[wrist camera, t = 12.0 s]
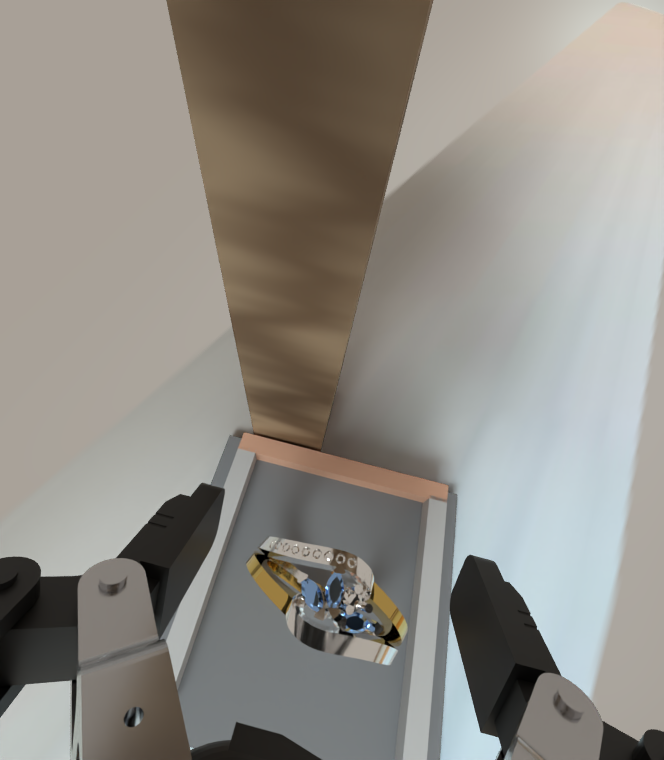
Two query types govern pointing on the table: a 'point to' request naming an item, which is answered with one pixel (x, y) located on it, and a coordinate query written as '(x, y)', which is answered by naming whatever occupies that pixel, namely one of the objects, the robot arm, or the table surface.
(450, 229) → the table surface
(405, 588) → the seat
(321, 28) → the shelf
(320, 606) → the ring
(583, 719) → the robot arm
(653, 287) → the table surface
